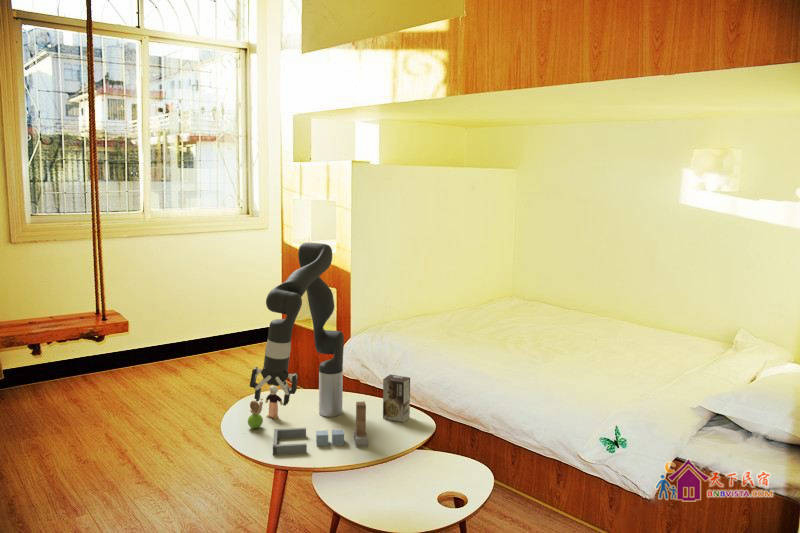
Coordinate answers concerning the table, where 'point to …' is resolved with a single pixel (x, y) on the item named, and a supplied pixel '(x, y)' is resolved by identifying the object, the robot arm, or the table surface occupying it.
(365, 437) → the tall wooden pillar
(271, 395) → the grandmother figurine
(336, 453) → the table surface
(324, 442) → the block
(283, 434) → the grey u-shaped wall
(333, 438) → the block
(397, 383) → the coffee box
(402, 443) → the table surface
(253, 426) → the snail figurine
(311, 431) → the table surface
